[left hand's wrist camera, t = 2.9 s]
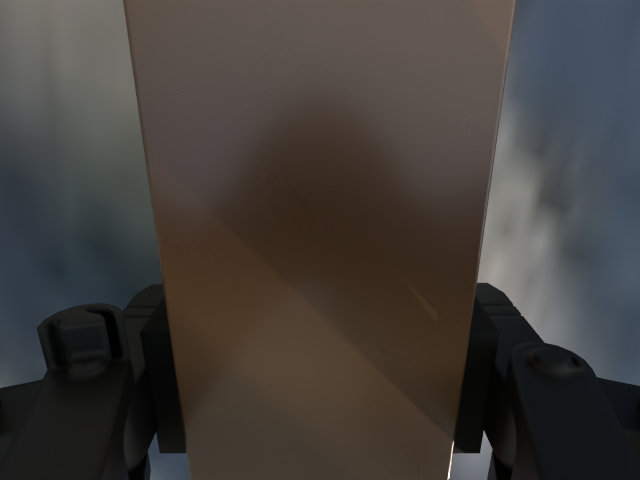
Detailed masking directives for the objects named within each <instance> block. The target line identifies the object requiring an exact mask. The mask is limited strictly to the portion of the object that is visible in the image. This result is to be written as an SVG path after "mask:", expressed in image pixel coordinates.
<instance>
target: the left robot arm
mask: <svg viewBox="0 0 640 480" xmlns="http://www.w3.org/2000/svg"><path fill="white" fill-rule="evenodd" d="M37 331H38V335H39V339H40V343H41V346H42V350H43V354H44V358H45V362H46V365H47V369H48V370H47V372H46V374H45V376H44V378H43V379H42V380H38V381H34V382H29V383H24V384H19V385H14V386H9V387H4V388H0V480H150V473H151V469H150V461H149V456H148V448H149V446H150V444H151V442H152V440H153V437H154V435H155V433H157V439H158V445H159V451H160V453H187V452H186V445H185V438H184V431H183V424H182V417H181V409H180V402H179V395H178V388H177V381H176V374H175V367H174V359H173V352H172V345H171V338H170V331H169V324H168V317H167V309H166V302H165V295H164V288H163V284H152V285H151V286H149V287H147V288H146V289H144V290H142V291H141V292H139V293H137V294H136V295H135V296H134V298H133V299H132V300H131V301H130V303H129V304H128V305H127V308H125V309H124V310H123V311H122V310H120V309H119V308H118V307H116V306H114V305H109V304H86V305H81V306H75V307H72V308H69V309H66V310H63V311H60V312H58V313H56V314H54V315H52V316H50V317H49V318H47V319H45V320H44V321H43V322H42V323H41V324H40V325H39V326H38V327H37ZM483 431H485V433H486V436H487V438H488V440H489V442H490V444H491V447H492V449H493V450H492V456H491V461H490V467H489V472H488V478H487V480H640V386H637V385H632V384H627V383H621V382H616V381H611V380H606V379H602V378H598V377H596V375H595V373H594V371H593V369H592V368H591V367H590V366H589V364H588V363H587V362H586V361H585V360H584V359H582V358H581V357H579V356H578V355H576V354H575V353H573V352H572V351H569V350H567V349H564V348H562V347H559V346H556V345H552V344H547V343H544V341H543V340H542V339H541V338H540V337H539V335H538V334H537V333H536V332H535V330H534V329H533V328H532V327H531V326H530V324H529V323H528V322H527V321H526V319H525V318H524V317H523V316H521V313H520V312H519V311H518V310H517V308H516V307H515V306H513V303H512V302H511V301H510V300H509V299H508V297H507V296H506V295H505V294H504V293H503V292H502V291H500V290H498V289H497V288H495V287H493V286H492V285H490V284H488V283H477V285H476V292H475V299H474V306H473V313H472V320H471V328H470V335H469V342H468V349H467V356H466V363H465V371H464V378H463V385H462V392H461V399H460V406H459V414H458V421H457V428H456V435H455V442H454V449H453V453H480V449H481V443H482V437H483Z"/></svg>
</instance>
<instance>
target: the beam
mask: <svg viewBox="0 0 640 480" xmlns="http://www.w3.org/2000/svg"><path fill="white" fill-rule="evenodd" d="M123 2H124V9H125V16H126V24H127V31H128V38H129V45H130V52H131V59H132V67H133V74H134V81H135V88H136V95H137V102H138V109H139V117H140V124H141V131H142V138H143V145H144V152H145V159H146V167H147V174H148V181H149V188H150V195H151V202H152V209H153V217H154V224H155V231H156V238H157V245H158V252H159V259H160V267H161V274H162V281H163V288H164V295H165V302H166V309H167V317H168V324H169V331H170V338H171V345H172V352H173V359H174V367H175V374H176V381H177V388H178V395H179V402H180V409H181V417H182V424H183V431H184V438H185V445H186V452H187V459H188V467H189V474H190V480H449V478H450V471H451V464H452V457H453V449H454V442H455V435H456V428H457V421H458V414H459V406H460V399H461V392H462V385H463V378H464V371H465V363H466V356H467V349H468V342H469V335H470V328H471V320H472V313H473V306H474V299H475V292H476V285H477V277H478V270H479V263H480V256H481V249H482V242H483V234H484V227H485V220H486V213H487V206H488V199H489V191H490V184H491V177H492V170H493V163H494V156H495V148H496V141H497V134H498V127H499V120H500V113H501V105H502V98H503V91H504V84H505V77H506V70H507V62H508V55H509V48H510V41H511V34H512V27H513V19H514V12H515V5H516V0H123Z"/></svg>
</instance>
